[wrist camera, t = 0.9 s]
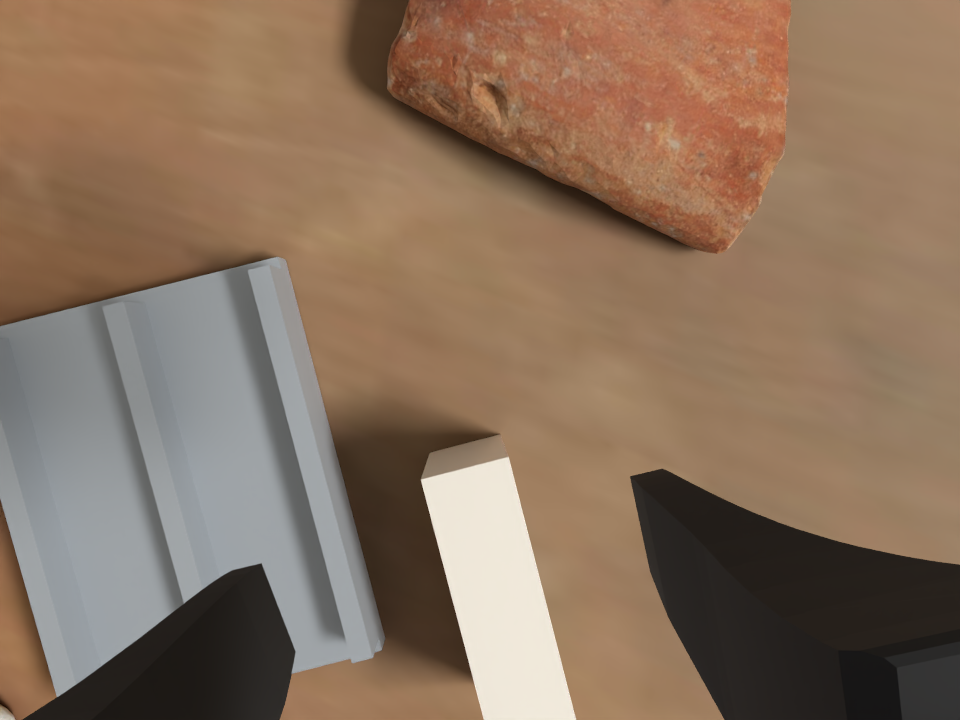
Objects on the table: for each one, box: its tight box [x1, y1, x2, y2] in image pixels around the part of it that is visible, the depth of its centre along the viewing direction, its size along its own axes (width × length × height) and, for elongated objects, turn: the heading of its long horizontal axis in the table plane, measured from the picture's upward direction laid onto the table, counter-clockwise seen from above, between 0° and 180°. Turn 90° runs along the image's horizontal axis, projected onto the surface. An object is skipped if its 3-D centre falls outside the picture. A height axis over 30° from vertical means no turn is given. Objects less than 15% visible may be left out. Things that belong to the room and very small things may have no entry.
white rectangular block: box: [421, 434, 576, 720], centre depth 23 cm, size 10×3×5 cm, turn 14°
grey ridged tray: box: [0, 257, 385, 697], centre depth 24 cm, size 16×12×2 cm
